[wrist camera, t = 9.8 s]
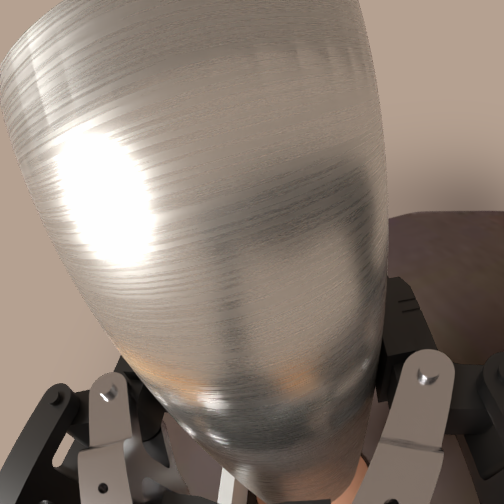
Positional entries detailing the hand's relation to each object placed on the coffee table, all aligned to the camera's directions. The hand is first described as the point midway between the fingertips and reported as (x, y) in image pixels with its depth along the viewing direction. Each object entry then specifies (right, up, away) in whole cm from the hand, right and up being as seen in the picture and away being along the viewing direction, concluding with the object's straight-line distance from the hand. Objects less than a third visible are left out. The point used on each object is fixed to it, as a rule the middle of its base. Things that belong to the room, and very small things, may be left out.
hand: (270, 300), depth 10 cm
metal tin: (+2, -10, +3) cm, 10 cm away
